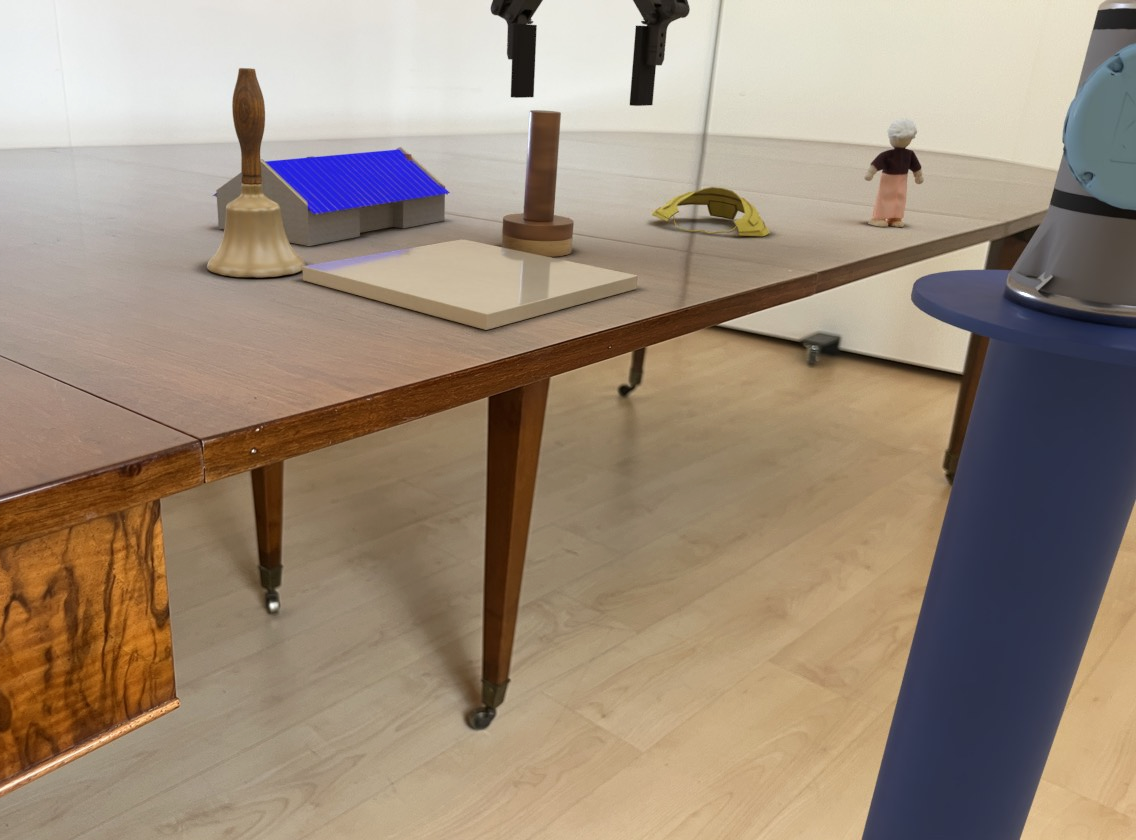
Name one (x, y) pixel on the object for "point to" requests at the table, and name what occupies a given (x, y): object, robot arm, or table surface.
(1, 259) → the table surface
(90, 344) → the table surface
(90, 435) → the table surface
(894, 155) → the grandmother figurine
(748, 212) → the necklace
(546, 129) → the dish brush
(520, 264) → the tile
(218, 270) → the hand bell
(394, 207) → the model house
